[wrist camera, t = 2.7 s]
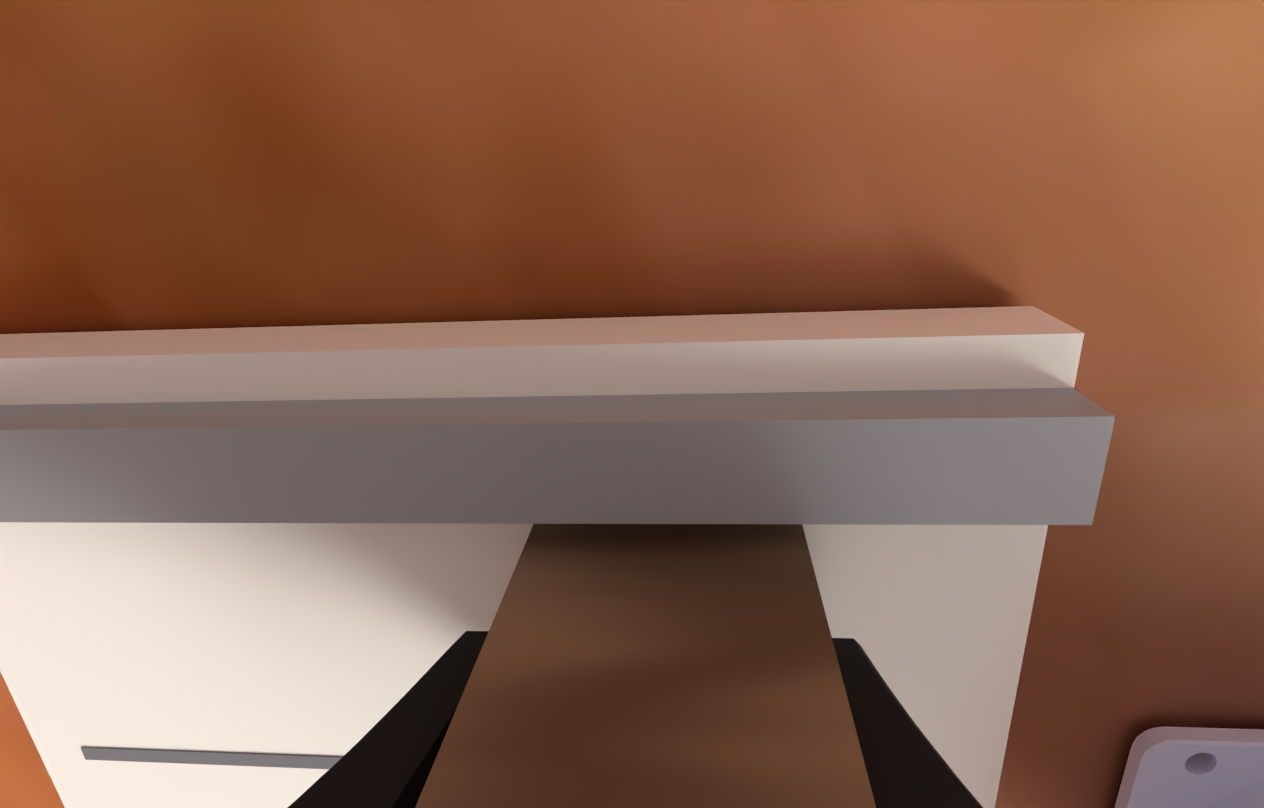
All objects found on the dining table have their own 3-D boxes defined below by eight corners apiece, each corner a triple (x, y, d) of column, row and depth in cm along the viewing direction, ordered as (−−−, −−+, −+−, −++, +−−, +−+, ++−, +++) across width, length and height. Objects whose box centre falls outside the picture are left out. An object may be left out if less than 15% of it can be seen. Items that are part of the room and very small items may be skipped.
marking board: (1033, 306, 10) (1127, 356, 8) (933, 927, 16) (975, 1067, 13) (-51, 335, 12) (-226, 383, 10) (177, 883, 17) (97, 1000, 15)
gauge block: (800, 518, 10) (917, 966, 5) (791, 724, 12) (874, 1252, 6) (535, 517, 11) (362, 931, 5) (558, 717, 12) (442, 1208, 7)
